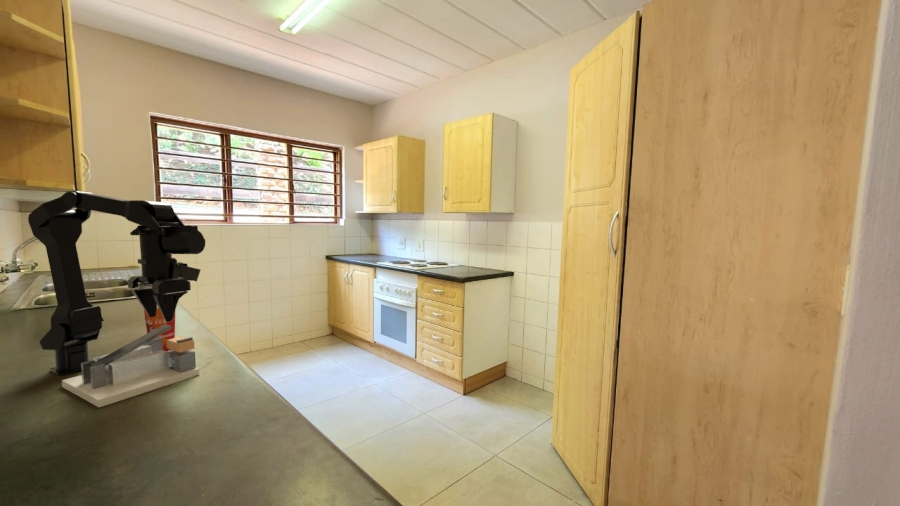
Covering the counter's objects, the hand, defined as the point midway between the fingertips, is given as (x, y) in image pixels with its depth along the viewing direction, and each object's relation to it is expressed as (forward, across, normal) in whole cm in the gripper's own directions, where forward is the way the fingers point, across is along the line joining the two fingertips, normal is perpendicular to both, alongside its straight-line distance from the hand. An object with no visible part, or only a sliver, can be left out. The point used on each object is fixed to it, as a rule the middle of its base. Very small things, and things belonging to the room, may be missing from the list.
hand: (160, 319), depth 86 cm
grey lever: (+5, 0, +5) cm, 7 cm away
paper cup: (+13, +20, -7) cm, 25 cm away
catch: (+7, -5, -2) cm, 9 cm away
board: (+13, 0, +6) cm, 14 cm away
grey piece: (+12, 0, +5) cm, 13 cm away
